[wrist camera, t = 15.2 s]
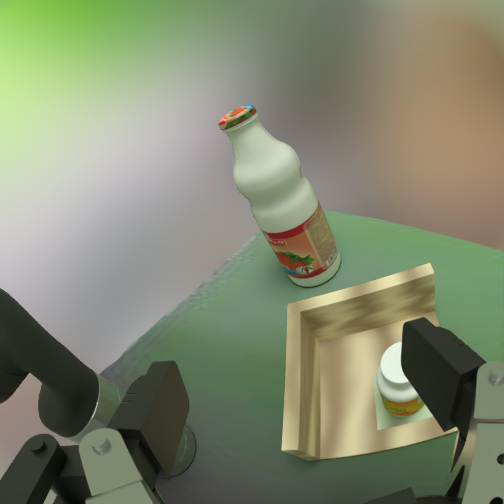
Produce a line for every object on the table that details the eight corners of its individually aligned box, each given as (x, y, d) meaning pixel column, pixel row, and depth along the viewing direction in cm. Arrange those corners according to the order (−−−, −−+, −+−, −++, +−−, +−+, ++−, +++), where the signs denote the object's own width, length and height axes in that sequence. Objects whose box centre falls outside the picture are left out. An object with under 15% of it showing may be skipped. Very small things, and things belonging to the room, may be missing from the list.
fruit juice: (353, 265, 46) (281, 95, 30) (304, 298, 46) (207, 137, 30) (324, 238, 53) (254, 95, 38) (281, 267, 53) (196, 128, 38)
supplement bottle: (373, 405, 28) (359, 374, 23) (399, 367, 30) (392, 325, 24) (411, 426, 24) (411, 401, 18) (437, 384, 26) (443, 346, 20)
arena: (307, 460, 27) (281, 450, 23) (309, 336, 40) (287, 304, 36) (462, 429, 21) (476, 410, 16) (431, 303, 34) (429, 262, 29)
